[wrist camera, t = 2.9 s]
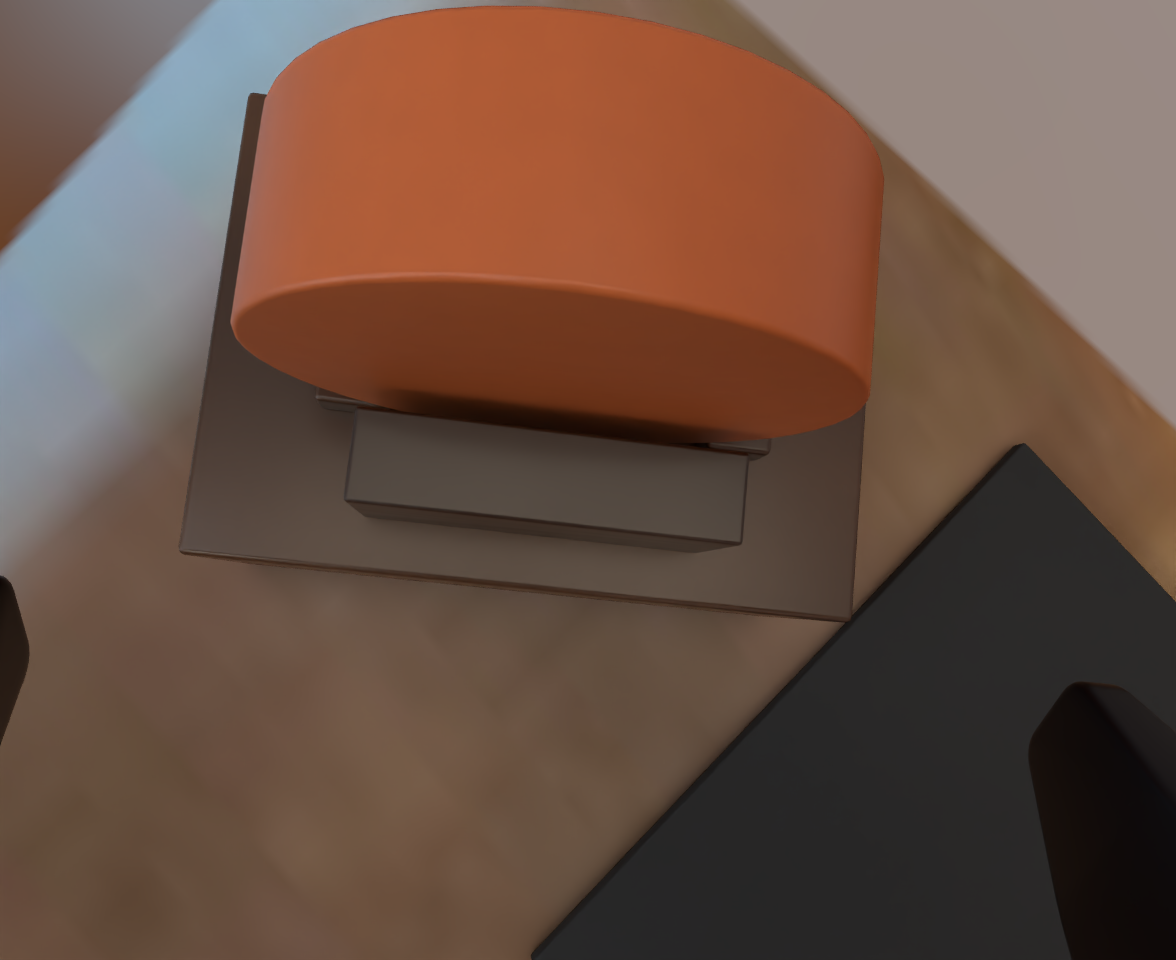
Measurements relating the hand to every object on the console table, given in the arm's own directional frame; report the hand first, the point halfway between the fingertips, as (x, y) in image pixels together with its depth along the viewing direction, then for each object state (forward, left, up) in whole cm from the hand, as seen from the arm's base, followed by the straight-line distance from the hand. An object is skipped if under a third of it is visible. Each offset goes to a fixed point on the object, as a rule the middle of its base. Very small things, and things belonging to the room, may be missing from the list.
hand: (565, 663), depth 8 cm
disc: (+4, 0, -6) cm, 7 cm away
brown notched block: (+4, 0, -10) cm, 11 cm away
